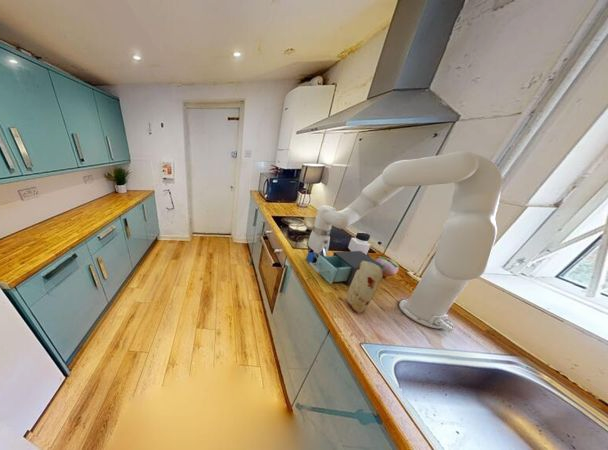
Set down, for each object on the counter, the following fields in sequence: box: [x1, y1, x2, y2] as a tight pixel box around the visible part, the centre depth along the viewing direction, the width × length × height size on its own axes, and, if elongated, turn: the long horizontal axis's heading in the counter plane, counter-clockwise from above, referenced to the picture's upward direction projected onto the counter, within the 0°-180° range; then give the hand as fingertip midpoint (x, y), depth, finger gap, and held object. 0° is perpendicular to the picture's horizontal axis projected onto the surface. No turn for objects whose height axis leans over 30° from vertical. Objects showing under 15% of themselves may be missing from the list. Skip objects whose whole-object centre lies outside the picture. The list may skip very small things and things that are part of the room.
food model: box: [346, 261, 383, 314], centre depth 74 cm, size 10×7×20 cm
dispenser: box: [332, 251, 384, 286], centre depth 94 cm, size 15×13×10 cm
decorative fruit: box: [374, 256, 400, 277], centre depth 95 cm, size 9×8×10 cm
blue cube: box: [306, 251, 320, 264], centre depth 104 cm, size 4×4×4 cm
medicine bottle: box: [347, 231, 372, 256], centre depth 114 cm, size 7×7×12 cm
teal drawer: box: [308, 254, 352, 285], centre depth 93 cm, size 19×11×8 cm, turn 97°
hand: (312, 261), depth 105 cm, fingers closed on blue cube, 4 cm apart
